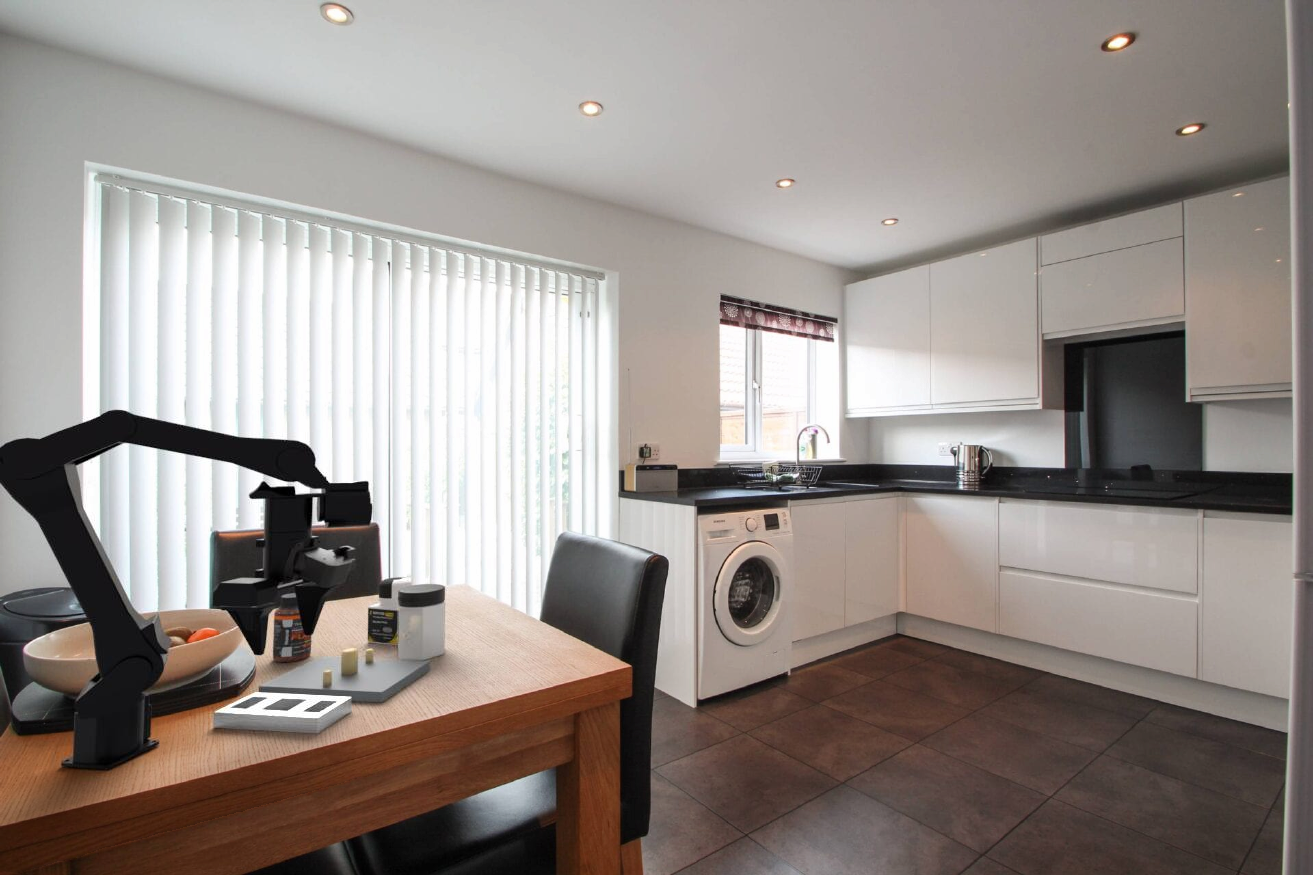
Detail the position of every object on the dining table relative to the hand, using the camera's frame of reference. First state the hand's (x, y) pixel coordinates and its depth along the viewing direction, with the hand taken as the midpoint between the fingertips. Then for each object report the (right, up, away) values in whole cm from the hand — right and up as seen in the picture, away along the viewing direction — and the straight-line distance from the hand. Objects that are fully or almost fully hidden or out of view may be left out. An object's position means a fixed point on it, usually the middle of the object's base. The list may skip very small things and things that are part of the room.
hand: (285, 644), depth 83 cm
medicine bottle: (-1, -12, +37) cm, 39 cm away
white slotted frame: (0, -10, 0) cm, 10 cm away
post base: (+2, -11, +13) cm, 17 cm away
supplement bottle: (-15, -12, +26) cm, 32 cm away
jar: (+8, -12, +28) cm, 31 cm away
